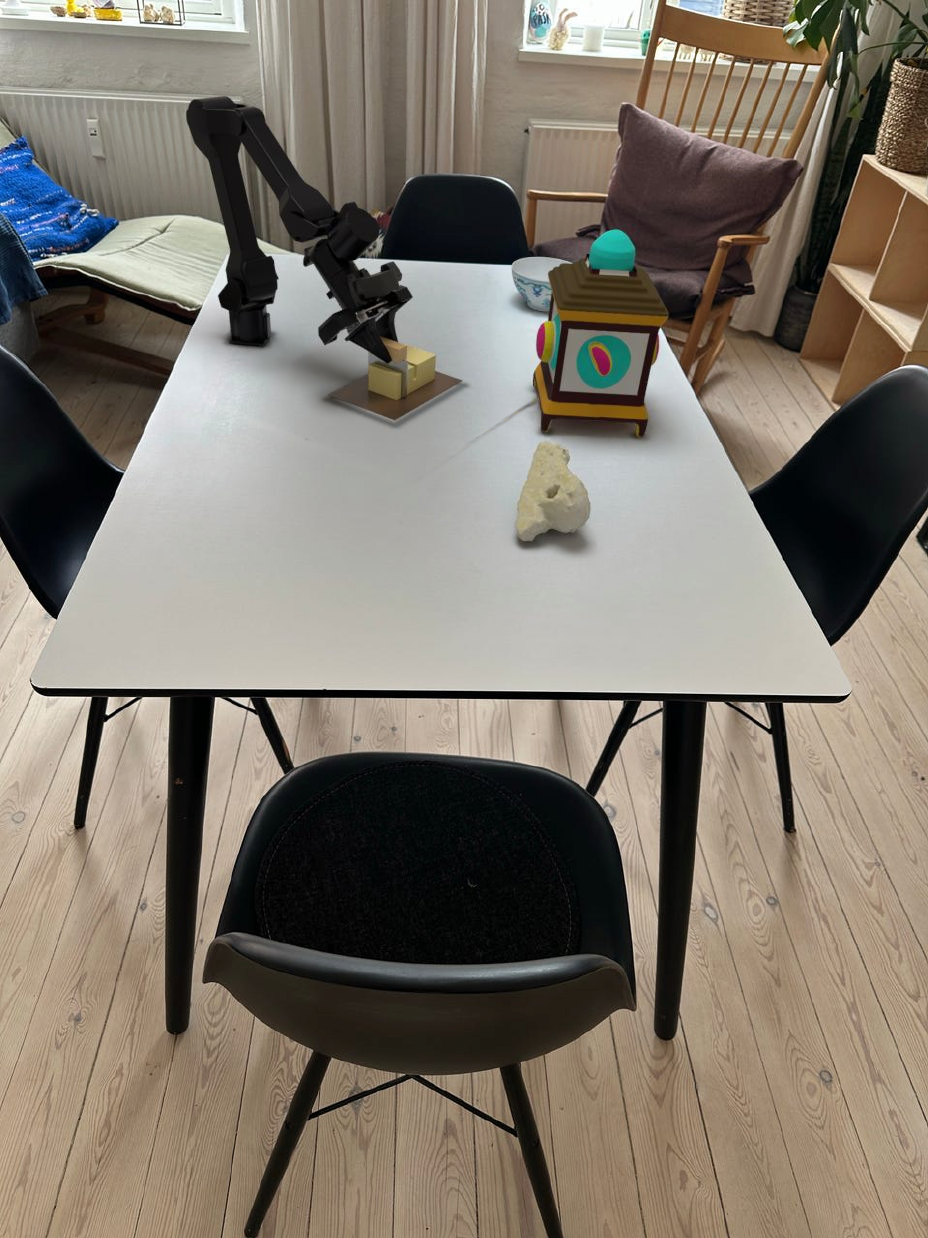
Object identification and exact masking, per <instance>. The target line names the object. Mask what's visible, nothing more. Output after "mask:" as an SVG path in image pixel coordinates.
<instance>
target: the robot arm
mask: <svg viewBox="0 0 928 1238" xmlns="http://www.w3.org/2000/svg"><path fill="white" fill-rule="evenodd" d="M185 120H186V124H187V126H188V129H189V131H190V134H191V138H192V140H193V143H194V145H195V146H196V147H197V149H198V150H199V151H200V153H201V154H202V155H203V156H204V158H205V159H207V162H208V165H209V169H210V173H211V177H212V181H213V185H214V189H215V193H216V198H217V203H218V207H219V211H220V214H221V218H222V222H223V227H224V231H225V235H226V238H227V240H226V241H227V243H228V247H229V254H228V259H227V261H226V265H225V276H226V284H225V286H223V288H222V289H221V291H220V292H219V293H218V294H217V298H218V301H219V305H220V308H221V309H224V310H226V311H228V319H229V329H230V337H229V338H228V343H229V344H237V345H248V346H256V347H257V346H259V347H263V346H265V344H266V342H267V341H268V340H269V339H270V336H271V335H272V327H271V324H272V323H271V314H270V312H268V310H267V306H268V305H273V304H274V302H275V298H276V293H277V291H278V288H279V285H278V280H280V279H279V276H278V274H277V270H276V265H275V264H276V263H275V259H274V257H273V256H272V255H266V253H265V252H264V251H263V250H262V249H261V247H260V245H259V242H258V238H257V233H256V230H255V229H256V228H255V224H254V221H253V217H252V216H253V215H252V212H251V207H250V202H249V198H248V195H247V190H246V184H245V181H244V177H243V172H242V167H241V163H240V159H239V153H240V150H241V146H243V147H244V149H245V150H246V152H247V153H248V155H249V156H250V158H251V160H252V161H253V163H254V165H255V166H256V167H257V169H258V170H259V172H260V174H261V175H262V177H263V178H264V179H265V181H266V183H267V184H268V186H269V188H270V189H271V191H272V192H273V194H274V195H275V198H276V199H277V202H278V215H279V218H280V220H281V222H282V223H283V226H284V228H285V229H286V232H287V233H288V235H289V237H290V238H291V239H292V240H293V241H294V242H296V243H297V242H298V243H302V244H303V243H306V242H310V241H315V240H318V239H319V240H318V241H316V243H315V244H314V245H310V246H308V247H305V248H304V249H303V252H304V253H303V254H304V255H303V259H302V266H303V267H305V268H307V267H309V266H312V265H313V266H314V267H315V269H316V271H317V273H318V274H319V276H320V277H321V279H322V281H324V283H325V285H326V286H327V288H328V289H329V290H328V291H327V292H326V293H325V294H326V297H327V298H328V299H329V300H332V299H335V301H336V302H337V304H338V305H339V307H340V308H341V309H340V310H338V311H336V312H333V313H332V314H331V315H329V316H328V318H327V319H325V320H324V322H322V323H321V324H320V325H319V326H318V327H317V334H318V335H317V336H318V338H319V339H320V341H321V343H322V344H323V345H324V346H327V345H329V344H331V343H332V344H333V342H336V341H337V340H338V336H339V334H340V333H341V332H342V331H344V330H346V333H347V336H346V337H345V338H344V341H345V342H350V343H352V344H354V345H356V346H358V347H360V348H362V349H364V350H365V351H367V352H370V353H372V354H373V355H375V356H376V357H378V358H379V359H381V360H382V361H384V362H385V363H387V364H389V363H390V362H391V361H392V358H391V356H390V354H389V352H388V350H387V348H386V346H385V345H384V343H383V341H382V339H381V338H380V336H381V337H384V338H387V339H390V340H393V341H396V342H398V343H399V339H398V335H397V331H396V325H395V319H396V314H397V312H399V310H400V309H402V308H403V307H404V306H405V305H406V304H407V303H408V302H410V301H411V300H412V299H413V298H414V296H413V294H412V292H411V291H410V290H409V288H408V286H405V285H401V284H400V282H401V281H402V279H403V273H402V271H401V270H400V267H398V265H397V263H395V261H394V260H393V261H389V262H386V263H384V264H383V263H382V264H381V265H380V271H378V272H376V273H373V274H371V273H370V272H369V271H368V270H367V269H366V268H365V267H362V268H360V269H359V268H358V266H357V264H356V263H355V261H357V260H358V259H360V258H361V257H362V255H364V253H365V252H366V251H367V250H368V249H370V247H371V246H372V245H373V244H374V243H375V242H376V241H377V240H378V238H379V236H380V226H379V222H378V221H377V219H376V218H375V216H373V215H372V214H371V213H370V212H369V211H367V210H365V209H364V208H361V207H359V206H358V204H357V203H356V201H349V202H345V203H344V204H343V205H342V206H341V208H340V210H339V211H338V210H337V209H335V208H334V207H332V205H331V204H330V202H329V201H328V199H326V198H325V196H324V195H323V194H322V192H320V190H319V189H317V188H315V187H313V186H312V185H310V184H309V183H307V182H306V181H305V180H304V179H303V178H302V176H301V175H300V174H299V172H298V171H297V169H296V168H295V166H294V164H293V163H292V161H291V160H290V158H289V157H288V155H287V154H286V152H285V151H284V148H283V147H282V146H281V144H280V142H279V141H278V139H277V138H276V136H275V135H274V133H273V131H272V130H271V128H270V127H269V125H268V124H267V122H266V121H267V120H266V116H265V114H264V112H263V111H262V110H261V109H260V108H259V107H256V106H250V105H248V104H246V103H239V102H238V103H237V102H234V101H233V99H232V98H230V97H229V96H227V95H219V96H212V97H203V98H202V97H201V98H194V99H192V100H190V102H189V104H188V108H187V109H186V111H185Z"/></svg>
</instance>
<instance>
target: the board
mask: <svg viewBox="0 0 928 1238" xmlns="http://www.w3.org/2000/svg"><path fill="white" fill-rule="evenodd" d="M462 382H464V380H463V379H460V378H457V377H454V376H451V375H448V374H446V373H442V372H440V371H437V370H435V379H434V380H432V381H431V382H429V383H427V384H425V385H423V386H422V387H420V388H418V389H416V390H414V391H413V392H411V393H409V394H407V399H404V398H400V399H398V400H394V399H392V398H389V397H386V396H384V395H381V394H378V393H376V392H373V391H370V390H368V373H367V374H365V375H363V376H361V377H359V378H357V379H355V380H354V381H352V382H349V383H348V384H346V385H343V386H342V387H339V388H338V389H336V390H334V391H332V392H329V393H328V394H327V395H328V396H330V397H332V398H335V399H338V400H340V401H342V402H345V403H348V404H350V405H353V406H355V407H358V408H361V409H364V410H366V411H369V412H372V413H373V414H375V415H376V414H377V415H379V416H382V417H385V418H387V419H389V420H392V421H396V420H399V419H400V418H401V417H403V416H405V415H407V414H409V413H410V412H413V411H414V410H416V409H417V408H419V407H421V406H422V405H424V404H426V403H427V402H429V401H432V400H433V399H435V398H436V397H438V396H439V395H442V394H443V393H445V392H446V391H448V390H450V389H452V388H453V387H455V386H457V385H459V384H460V383H462Z"/></svg>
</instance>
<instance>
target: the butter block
mask: <svg viewBox="0 0 928 1238" xmlns="http://www.w3.org/2000/svg"><path fill="white" fill-rule="evenodd" d="M406 345H407V359H406V361H408V381H407V394H409V393H411V392H413V391H414V390H416V389H418V388H420V387H422V386H423V385H425V384H427V383H429V382H431V381H432V380H434V379H435V371H436V361H437V354H434V353H432V352H429V351H426V350H423V349H420V348H418V347H414V346H411V345H409V344H406Z"/></svg>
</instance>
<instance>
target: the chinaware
mask: <svg viewBox="0 0 928 1238" xmlns="http://www.w3.org/2000/svg"><path fill="white" fill-rule="evenodd" d="M562 263H569V264H572V263H573V262H570V261H567V260H564V259H559V258H556V257H555V258H554V257H546V256H530V257H523V258H519V259H517V260H515V261H513V262H512V264H511V276H512V280H513V284H514V286H515V289H516V291H517V292H518V294H519V295H520V296H521V297H522V298H523V299H524V300H525V301H526V302H527V304H526V305H527V306H528V307H529V308H530V309H531V310H535V311H539V312H548V313H549V309H550V301H551V293H552V290H551V286H550V283H549V278H548V272H549V271H550V270H553V268H554V267H559V266H560V264H562Z"/></svg>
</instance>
